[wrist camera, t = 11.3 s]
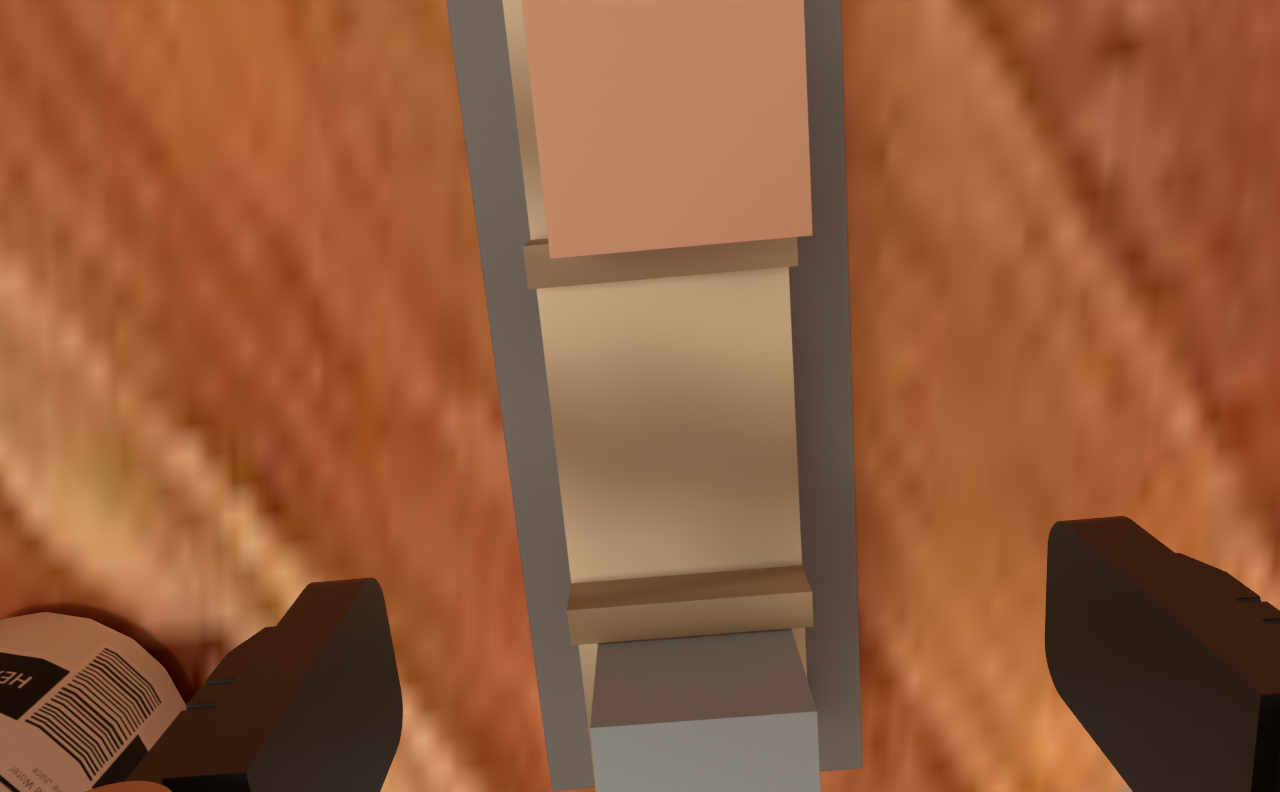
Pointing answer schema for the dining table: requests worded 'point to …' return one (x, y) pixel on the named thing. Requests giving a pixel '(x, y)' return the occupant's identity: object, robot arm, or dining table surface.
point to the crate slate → (704, 715)
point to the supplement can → (76, 704)
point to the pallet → (668, 427)
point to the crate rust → (669, 122)
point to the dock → (528, 412)
